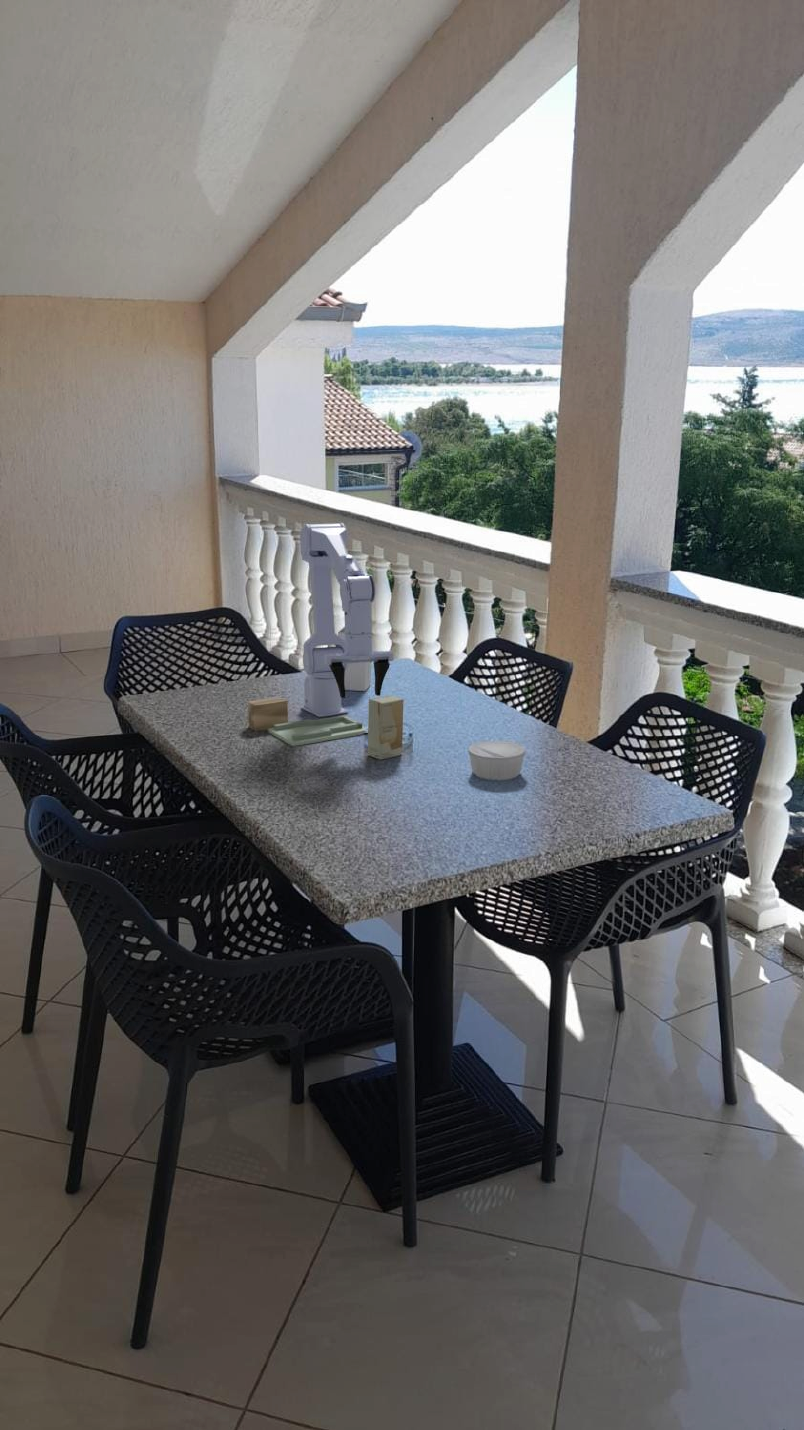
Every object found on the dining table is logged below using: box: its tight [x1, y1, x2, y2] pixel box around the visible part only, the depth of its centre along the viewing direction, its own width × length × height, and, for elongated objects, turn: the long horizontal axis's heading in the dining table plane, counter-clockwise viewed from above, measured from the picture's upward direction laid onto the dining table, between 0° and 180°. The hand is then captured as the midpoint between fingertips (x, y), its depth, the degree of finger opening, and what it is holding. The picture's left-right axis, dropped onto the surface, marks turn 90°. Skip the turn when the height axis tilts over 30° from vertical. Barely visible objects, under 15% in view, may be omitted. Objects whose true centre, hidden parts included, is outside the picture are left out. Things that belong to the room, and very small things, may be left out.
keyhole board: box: [267, 714, 368, 747], centre depth 246 cm, size 12×19×2 cm, turn 122°
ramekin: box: [468, 740, 526, 782], centre depth 221 cm, size 11×11×5 cm
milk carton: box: [337, 625, 372, 692], centre depth 282 cm, size 7×7×19 cm
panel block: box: [247, 696, 289, 732], centre depth 250 cm, size 4×8×6 cm, turn 122°
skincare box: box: [367, 694, 404, 761], centre depth 230 cm, size 6×4×12 cm
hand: (360, 696), depth 237 cm, fingers open, 7 cm apart
